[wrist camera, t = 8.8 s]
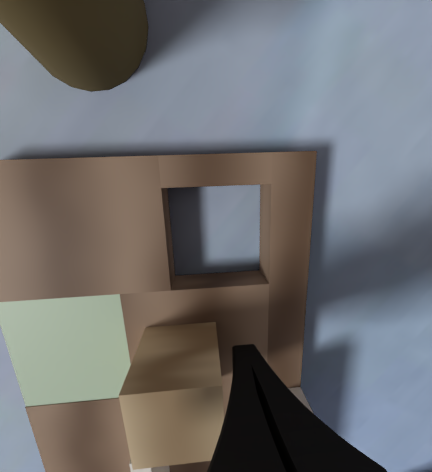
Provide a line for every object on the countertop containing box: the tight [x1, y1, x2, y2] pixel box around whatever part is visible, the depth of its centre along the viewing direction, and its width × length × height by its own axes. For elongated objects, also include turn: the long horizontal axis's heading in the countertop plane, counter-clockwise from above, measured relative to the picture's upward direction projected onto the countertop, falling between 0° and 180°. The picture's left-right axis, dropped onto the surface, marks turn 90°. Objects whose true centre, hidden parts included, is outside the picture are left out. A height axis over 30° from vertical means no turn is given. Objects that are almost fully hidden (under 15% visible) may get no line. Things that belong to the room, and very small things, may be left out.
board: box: [0, 151, 317, 472], centre depth 14 cm, size 17×26×2 cm, turn 2°
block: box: [119, 322, 224, 470], centre depth 11 cm, size 4×4×4 cm
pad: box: [0, 294, 131, 407], centre depth 13 cm, size 6×7×2 cm
